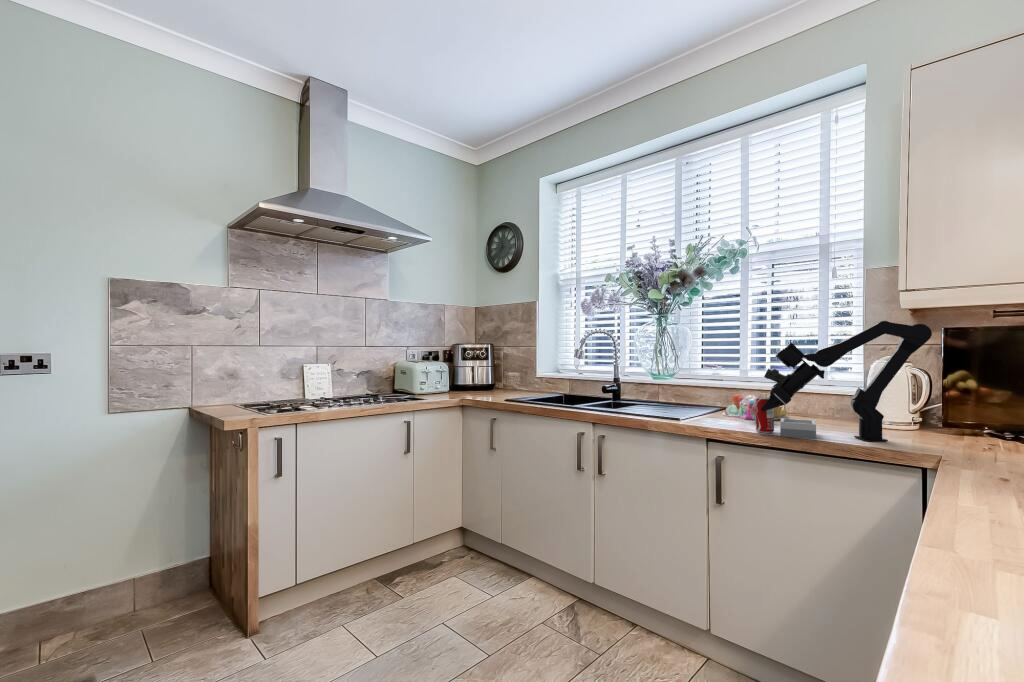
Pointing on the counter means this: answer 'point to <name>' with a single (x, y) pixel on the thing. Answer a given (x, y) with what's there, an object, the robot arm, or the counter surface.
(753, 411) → the cupcake
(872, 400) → the robot arm
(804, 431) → the socket block
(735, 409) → the colorful dessert platter
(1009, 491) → the counter surface
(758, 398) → the soda can
